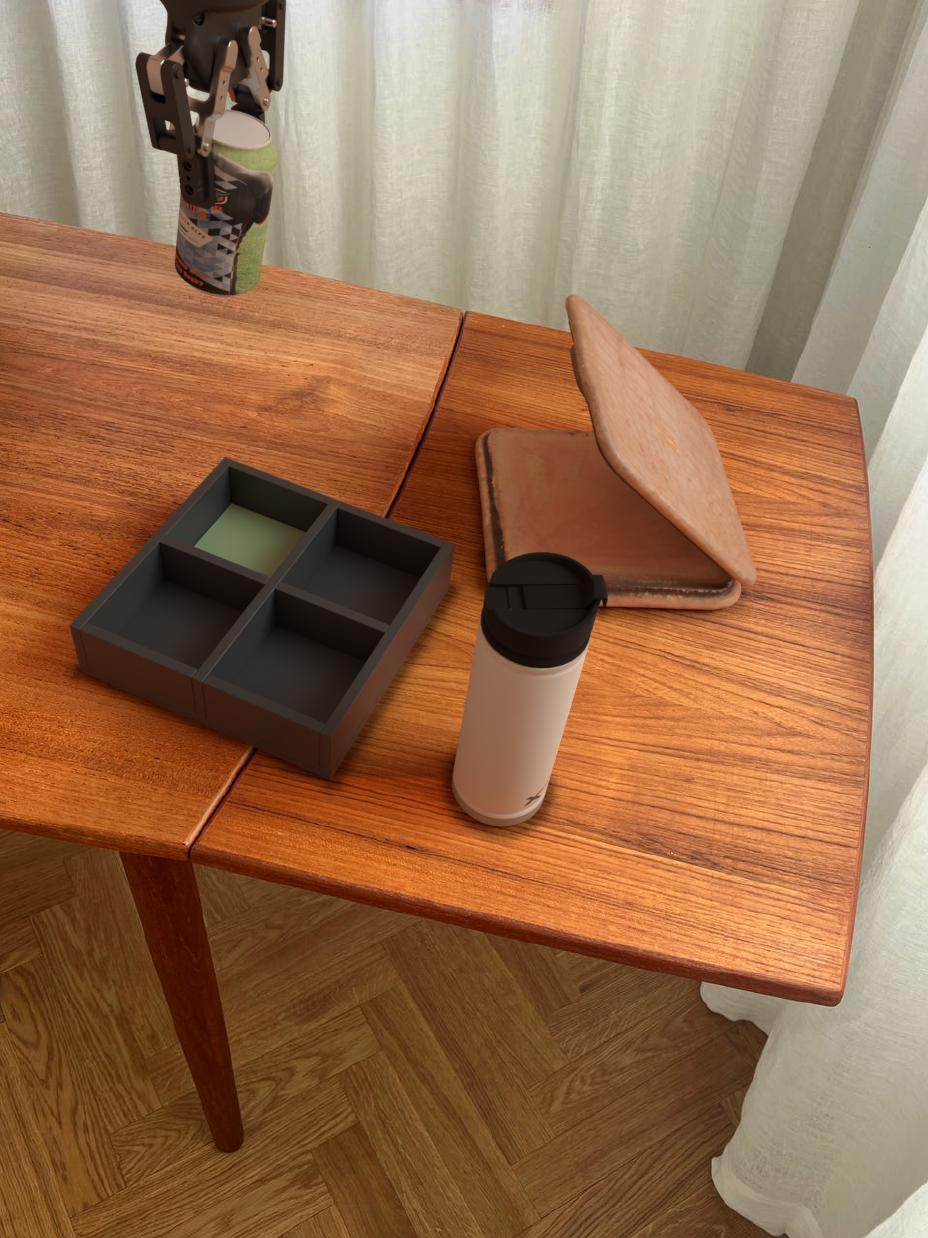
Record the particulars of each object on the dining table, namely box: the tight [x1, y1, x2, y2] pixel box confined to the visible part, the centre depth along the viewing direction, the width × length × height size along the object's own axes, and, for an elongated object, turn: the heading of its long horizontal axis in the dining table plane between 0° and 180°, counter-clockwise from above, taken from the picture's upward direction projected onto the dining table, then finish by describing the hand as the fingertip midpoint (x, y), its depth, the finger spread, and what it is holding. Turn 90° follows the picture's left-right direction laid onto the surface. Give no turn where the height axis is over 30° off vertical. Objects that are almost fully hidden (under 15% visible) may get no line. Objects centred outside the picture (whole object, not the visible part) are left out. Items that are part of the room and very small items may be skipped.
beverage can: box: [174, 108, 278, 298], centre depth 77 cm, size 6×7×12 cm
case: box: [474, 293, 757, 611], centre depth 86 cm, size 20×21×16 cm
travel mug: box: [451, 552, 608, 828], centre depth 67 cm, size 6×7×20 cm
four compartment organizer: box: [69, 456, 456, 781], centre depth 79 cm, size 19×19×5 cm
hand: (225, 181), depth 76 cm, fingers closed on beverage can, 6 cm apart
